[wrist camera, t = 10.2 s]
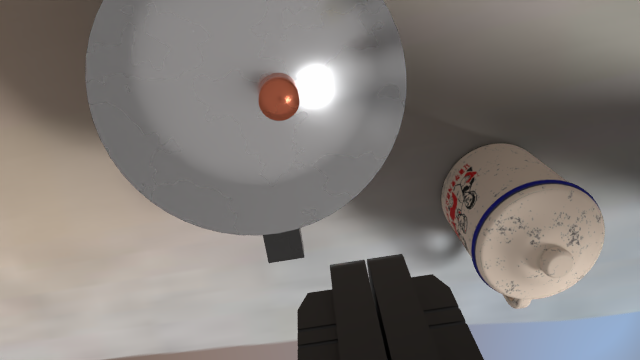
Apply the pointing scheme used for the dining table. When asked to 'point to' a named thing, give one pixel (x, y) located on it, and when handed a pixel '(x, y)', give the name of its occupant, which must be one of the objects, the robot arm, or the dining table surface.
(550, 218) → the teacup with lid
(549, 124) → the dining table surface
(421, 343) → the robot arm
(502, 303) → the dining table surface
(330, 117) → the lid
